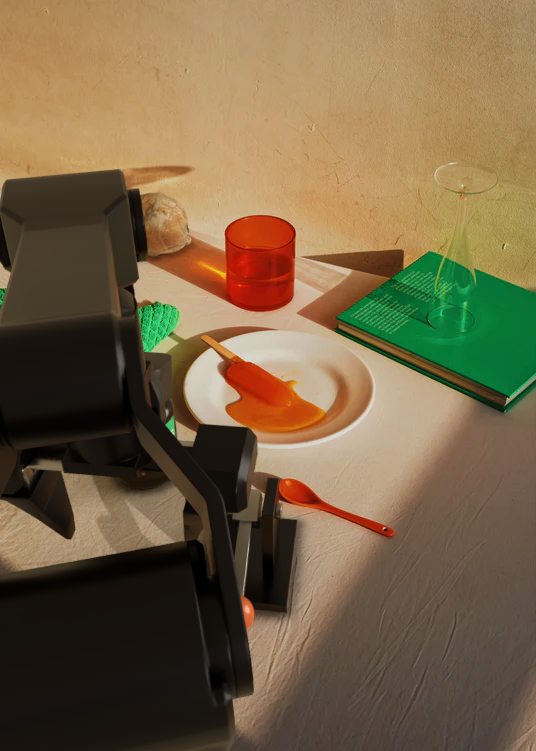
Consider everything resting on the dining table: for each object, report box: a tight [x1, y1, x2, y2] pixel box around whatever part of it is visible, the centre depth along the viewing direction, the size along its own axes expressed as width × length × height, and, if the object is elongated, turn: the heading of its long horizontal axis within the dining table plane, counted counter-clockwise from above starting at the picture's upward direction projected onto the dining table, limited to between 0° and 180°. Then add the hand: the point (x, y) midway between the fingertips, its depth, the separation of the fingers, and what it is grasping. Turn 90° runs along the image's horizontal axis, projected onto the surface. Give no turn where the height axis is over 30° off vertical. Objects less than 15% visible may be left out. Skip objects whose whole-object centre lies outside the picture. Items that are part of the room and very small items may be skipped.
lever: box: [232, 488, 264, 631], centre depth 62 cm, size 12×3×3 cm, turn 173°
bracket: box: [205, 477, 298, 614], centre depth 66 cm, size 10×8×9 cm
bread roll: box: [140, 191, 192, 257], centre depth 119 cm, size 12×13×10 cm
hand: (130, 540), depth 55 cm, fingers open, 9 cm apart
